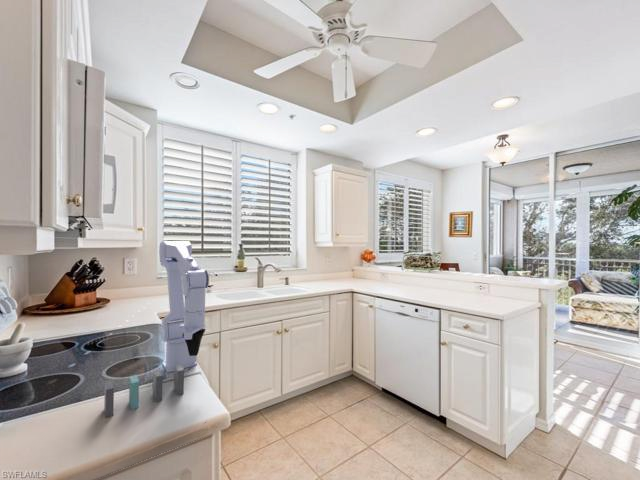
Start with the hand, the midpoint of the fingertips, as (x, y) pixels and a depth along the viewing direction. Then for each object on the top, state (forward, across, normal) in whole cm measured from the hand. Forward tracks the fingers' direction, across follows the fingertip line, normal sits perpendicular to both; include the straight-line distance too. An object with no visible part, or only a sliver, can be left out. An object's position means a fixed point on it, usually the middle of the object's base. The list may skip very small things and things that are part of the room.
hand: (193, 354), depth 86 cm
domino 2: (+10, +8, -13) cm, 18 cm away
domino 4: (+10, +2, -4) cm, 11 cm away
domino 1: (+10, +10, -18) cm, 23 cm away
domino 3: (+10, +5, -8) cm, 14 cm away
